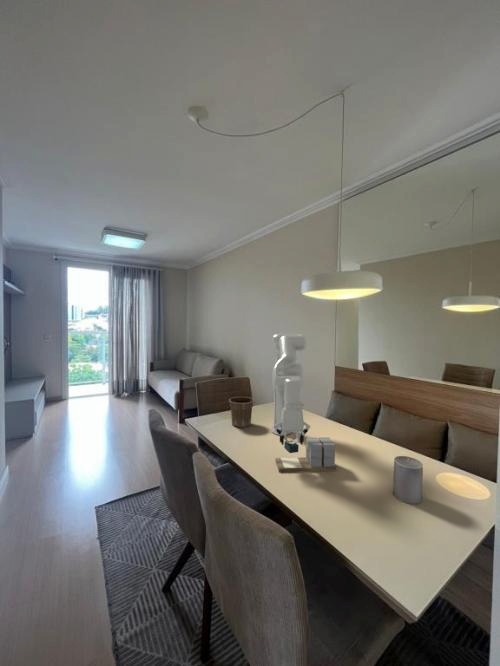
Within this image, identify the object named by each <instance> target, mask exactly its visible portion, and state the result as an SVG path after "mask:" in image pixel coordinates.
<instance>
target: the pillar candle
mask: <svg viewBox="0 0 500 666" xmlns="http://www.w3.org/2000/svg"><path fill="white" fill-rule="evenodd" d="M393 463H394V464H393V483H392V485H393V487H392V488H393V489H392V490H393V491H392V493H393V494H392V495H393V496H394V497H395V498H396V499H397V500H399V501H401V502H403V503H405V504H409V505H416V504H421V503H422V500H423V476H424V474H423V472H424V471H423V470H424V468H423V467H424V465H423V462H421V461H420V460H418V459H417V458H415V457H411V456H407V455H398V456H395V457H394V461H393Z"/></svg>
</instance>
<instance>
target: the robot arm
mask: <svg viewBox="0 0 500 666" xmlns="http://www.w3.org/2000/svg"><path fill="white" fill-rule="evenodd" d="M271 339H272V340H271V341H272V346H273V349H274V351H275V352H274V353H275V364H274V366H273V369H272V375H271V376H272V388H273V401H274V403H273V405H274V406H273V427H271V429H270V431H271V433H272V434H275V435H279V443H281V445H284V444H285V439H284V436H283V434H284V433H285V431H286V436H288V435H291V434H292V433H293V432H294V431H299V432H300V434H301V435H300V439H299V441H298V442H299V443H300V445H304V444H303V442H305V435H306V434H307V433H308V431H309V430H310V429H311V425H310V424H309V423H307V422H306V421H304V411H303V408H302V407H304V406H305V404H304V402H302V393H303V380H304V379H303V365H302V363H301V362H299V361H297V359H298V358H297V351H298V352H300V351H302V352H303V351H305V349H306V348H307V340H306V337H305V336H304V335H303V334H301V333H276V334H274V335H273V336H272V338H271Z"/></svg>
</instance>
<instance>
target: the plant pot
mask: <svg viewBox="0 0 500 666" xmlns="http://www.w3.org/2000/svg"><path fill="white" fill-rule="evenodd" d="M228 401H229V407H230V415H231V416H230V417H231V425H232V426H233V427H237V428H247V427H249V426H251V424H252V423H251V422H252V412H253V407H254V402H255V399H254V398H252V397H248V396H235V397H231V398H229V399H228Z"/></svg>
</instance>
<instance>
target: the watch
mask: <svg viewBox="0 0 500 666" xmlns="http://www.w3.org/2000/svg"><path fill="white" fill-rule="evenodd" d="M293 433H294V434H295V436H296V438H295V439H294V440H289V439H288V437H287V436H288V435H286V431H285V433H284V434H283V436H284V444H283V445H284V450H286V451H287V452H288V454H294V453H299V449H300V448H299V444H298V442H300V441H299V440H300V435H301V434H300V433H301V432H300V431H293Z"/></svg>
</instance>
